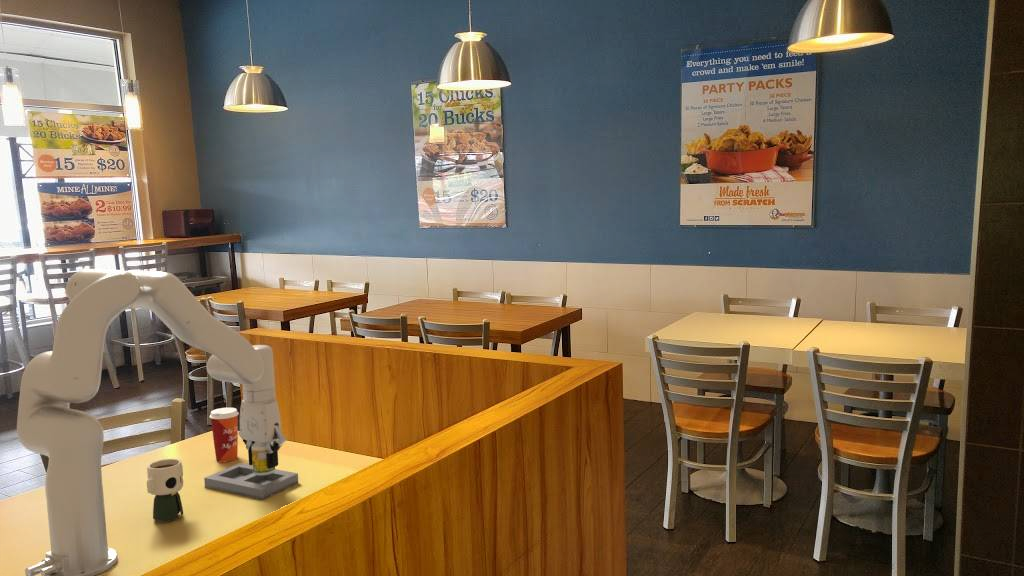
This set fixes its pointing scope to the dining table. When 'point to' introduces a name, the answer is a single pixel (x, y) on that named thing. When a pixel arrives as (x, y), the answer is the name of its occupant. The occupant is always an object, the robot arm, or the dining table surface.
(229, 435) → the paper cup
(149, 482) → the character mug
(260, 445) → the supplement bottle
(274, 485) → the drink carrier
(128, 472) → the dining table surface
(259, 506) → the dining table surface
